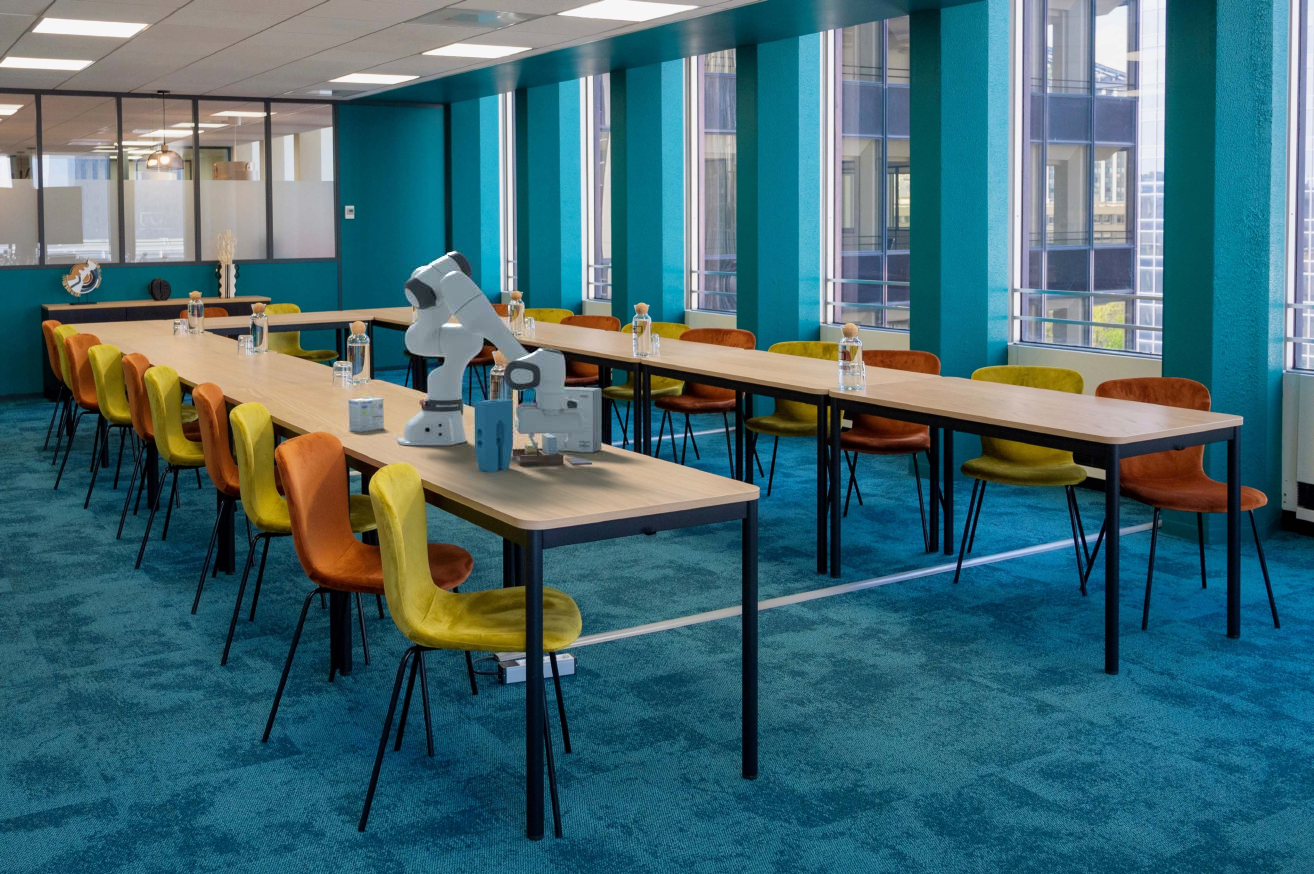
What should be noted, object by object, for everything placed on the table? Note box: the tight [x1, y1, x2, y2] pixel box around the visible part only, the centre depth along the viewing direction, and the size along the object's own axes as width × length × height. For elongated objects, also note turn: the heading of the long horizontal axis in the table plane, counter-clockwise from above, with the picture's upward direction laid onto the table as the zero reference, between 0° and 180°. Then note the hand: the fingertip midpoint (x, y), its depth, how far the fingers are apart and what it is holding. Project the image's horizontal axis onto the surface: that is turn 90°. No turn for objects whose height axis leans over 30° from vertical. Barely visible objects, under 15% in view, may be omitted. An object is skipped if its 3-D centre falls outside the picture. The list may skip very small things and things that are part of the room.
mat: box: [564, 456, 593, 466], centre depth 380 cm, size 6×10×1 cm, turn 17°
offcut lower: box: [525, 450, 537, 455], centre depth 381 cm, size 3×4×2 cm
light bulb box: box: [348, 396, 385, 433], centre depth 437 cm, size 11×7×11 cm, turn 144°
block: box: [474, 398, 514, 473], centre depth 364 cm, size 12×5×20 cm, turn 144°
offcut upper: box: [524, 443, 537, 452], centre depth 380 cm, size 3×4×2 cm
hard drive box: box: [549, 386, 603, 454], centre depth 400 cm, size 16×8×20 cm, turn 71°
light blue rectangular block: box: [541, 433, 558, 455], centre depth 379 cm, size 3×9×6 cm, turn 17°
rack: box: [511, 447, 565, 467], centre depth 379 cm, size 13×13×3 cm
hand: (550, 447), depth 377 cm, fingers open, 8 cm apart
